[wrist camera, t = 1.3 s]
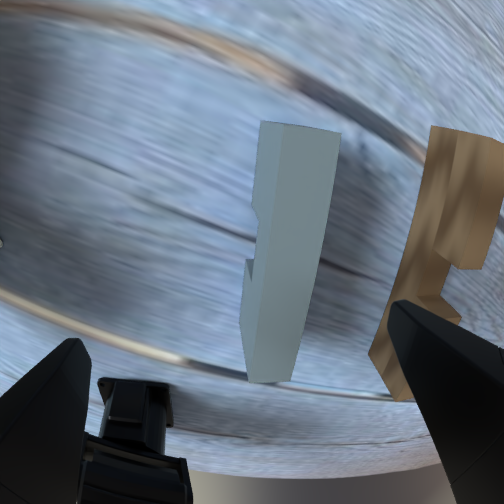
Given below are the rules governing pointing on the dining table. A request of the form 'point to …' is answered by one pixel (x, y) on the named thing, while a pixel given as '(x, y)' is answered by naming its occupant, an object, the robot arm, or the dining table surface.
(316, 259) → the slate-blue slotted crosspiece
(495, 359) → the robot arm
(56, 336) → the dining table surface
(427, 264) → the walnut slotted plate
